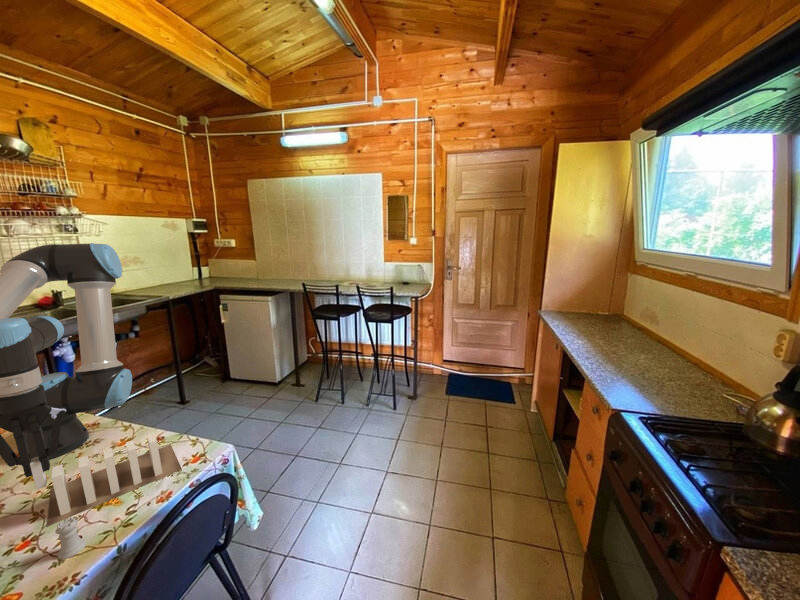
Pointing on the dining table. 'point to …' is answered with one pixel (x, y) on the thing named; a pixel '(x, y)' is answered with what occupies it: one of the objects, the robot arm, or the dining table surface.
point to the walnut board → (103, 487)
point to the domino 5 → (154, 454)
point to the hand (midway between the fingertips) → (41, 484)
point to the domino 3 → (111, 470)
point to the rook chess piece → (69, 539)
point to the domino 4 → (133, 462)
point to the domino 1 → (61, 489)
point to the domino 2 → (87, 480)
